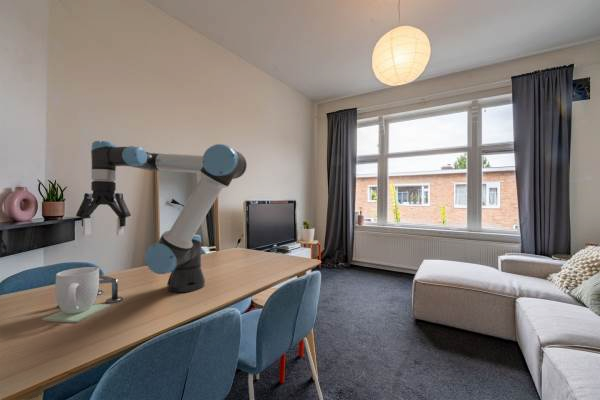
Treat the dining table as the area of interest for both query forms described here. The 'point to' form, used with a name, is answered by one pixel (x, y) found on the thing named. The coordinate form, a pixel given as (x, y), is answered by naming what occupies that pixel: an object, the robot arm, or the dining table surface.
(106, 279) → the small metal rack
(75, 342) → the dining table surface
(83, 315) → the pad
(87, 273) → the mug
